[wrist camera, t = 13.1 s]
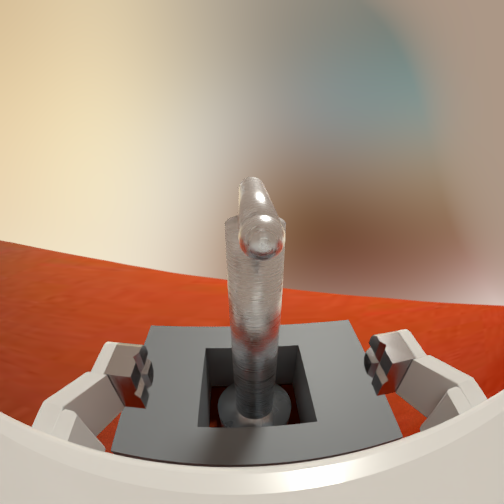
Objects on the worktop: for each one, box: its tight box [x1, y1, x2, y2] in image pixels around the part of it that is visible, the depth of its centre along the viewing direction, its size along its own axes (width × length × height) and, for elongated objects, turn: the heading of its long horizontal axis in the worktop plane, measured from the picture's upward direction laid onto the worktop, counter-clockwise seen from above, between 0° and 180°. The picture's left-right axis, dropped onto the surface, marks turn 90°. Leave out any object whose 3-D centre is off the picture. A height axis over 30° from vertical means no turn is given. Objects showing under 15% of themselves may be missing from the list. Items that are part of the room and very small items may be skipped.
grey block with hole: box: [111, 320, 403, 467], centre depth 15 cm, size 14×10×4 cm
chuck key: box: [218, 177, 291, 428], centre depth 12 cm, size 4×7×14 cm, turn 3°
